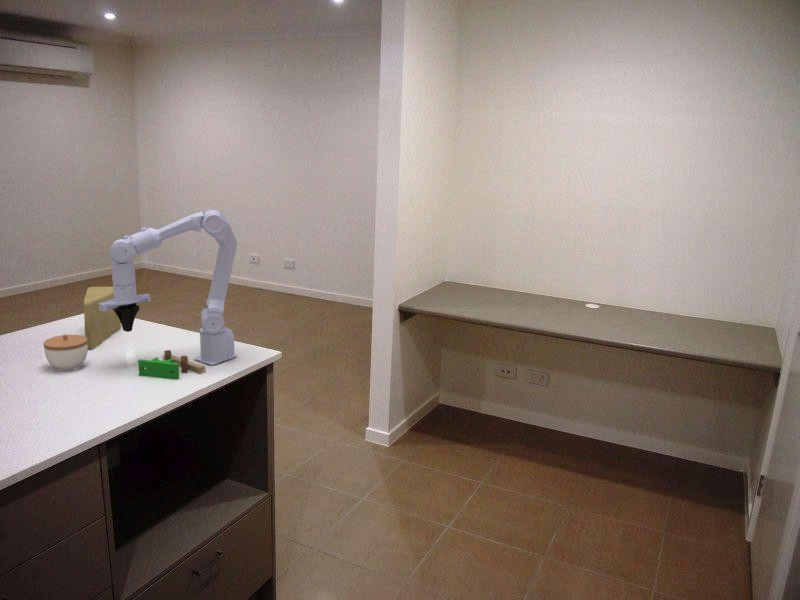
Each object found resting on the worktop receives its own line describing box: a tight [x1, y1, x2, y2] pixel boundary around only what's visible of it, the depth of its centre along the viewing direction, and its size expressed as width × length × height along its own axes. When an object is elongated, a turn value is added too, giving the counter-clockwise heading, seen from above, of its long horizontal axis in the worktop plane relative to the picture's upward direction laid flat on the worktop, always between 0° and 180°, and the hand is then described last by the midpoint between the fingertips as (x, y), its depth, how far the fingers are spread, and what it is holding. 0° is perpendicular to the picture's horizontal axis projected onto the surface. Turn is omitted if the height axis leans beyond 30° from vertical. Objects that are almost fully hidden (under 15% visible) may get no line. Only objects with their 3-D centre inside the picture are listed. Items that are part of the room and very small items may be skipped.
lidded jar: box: [42, 333, 89, 371], centre depth 168 cm, size 11×11×9 cm
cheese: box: [83, 286, 122, 350], centre depth 191 cm, size 22×10×15 cm, turn 13°
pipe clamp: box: [137, 356, 180, 381], centre depth 166 cm, size 11×4×5 cm, turn 82°
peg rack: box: [161, 349, 206, 375], centre depth 172 cm, size 4×16×4 cm, turn 58°
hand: (127, 330), depth 170 cm, fingers closed
